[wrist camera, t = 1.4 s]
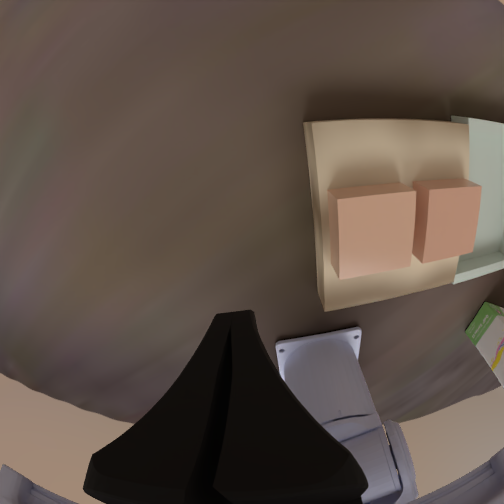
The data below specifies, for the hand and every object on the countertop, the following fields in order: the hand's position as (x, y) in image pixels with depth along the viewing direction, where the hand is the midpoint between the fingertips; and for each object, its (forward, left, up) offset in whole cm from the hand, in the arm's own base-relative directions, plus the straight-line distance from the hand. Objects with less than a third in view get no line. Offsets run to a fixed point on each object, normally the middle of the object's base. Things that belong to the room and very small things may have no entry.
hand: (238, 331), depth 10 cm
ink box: (-17, -29, -11) cm, 35 cm away
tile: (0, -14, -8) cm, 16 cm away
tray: (0, -22, -10) cm, 24 cm away
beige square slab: (0, -11, -10) cm, 15 cm away
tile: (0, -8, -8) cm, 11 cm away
